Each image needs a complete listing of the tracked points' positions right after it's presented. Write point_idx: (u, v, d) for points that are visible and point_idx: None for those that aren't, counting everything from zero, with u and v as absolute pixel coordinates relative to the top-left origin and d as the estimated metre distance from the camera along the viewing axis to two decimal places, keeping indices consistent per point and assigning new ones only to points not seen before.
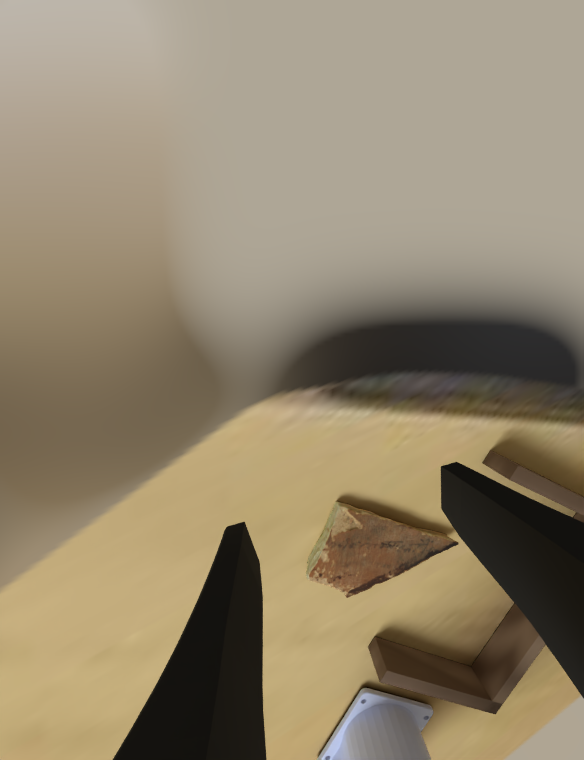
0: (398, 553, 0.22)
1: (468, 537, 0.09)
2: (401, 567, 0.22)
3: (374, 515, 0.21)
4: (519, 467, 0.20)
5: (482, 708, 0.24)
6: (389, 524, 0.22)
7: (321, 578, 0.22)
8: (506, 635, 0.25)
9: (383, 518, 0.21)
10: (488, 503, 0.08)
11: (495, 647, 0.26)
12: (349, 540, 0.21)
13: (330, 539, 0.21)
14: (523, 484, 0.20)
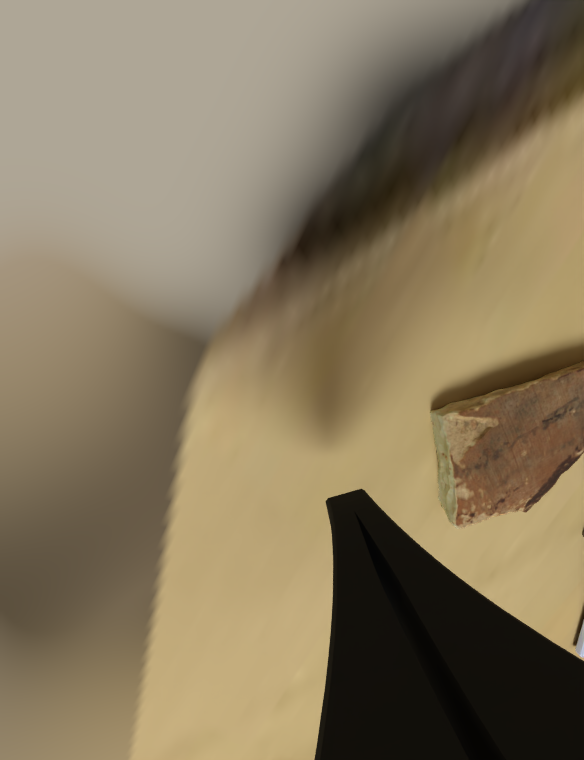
0: (579, 417, 0.12)
1: None
2: None
3: (507, 392, 0.12)
4: None
5: None
6: (541, 388, 0.12)
7: (476, 517, 0.14)
8: None
9: (525, 386, 0.12)
10: (369, 538, 0.08)
11: None
12: (488, 451, 0.12)
13: (457, 468, 0.12)
14: None
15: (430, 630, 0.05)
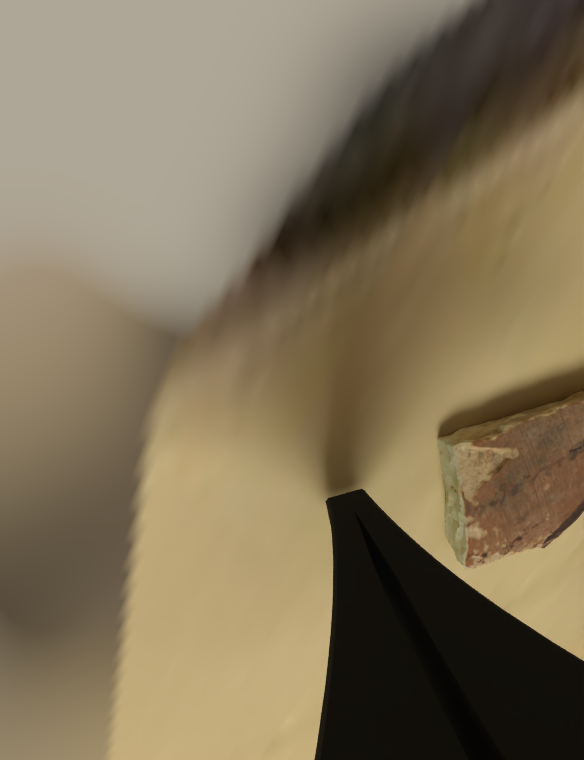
0: None
1: None
2: None
3: (530, 418, 0.10)
4: None
5: None
6: (570, 413, 0.10)
7: (488, 557, 0.12)
8: None
9: (551, 411, 0.10)
10: (369, 537, 0.08)
11: None
12: (506, 486, 0.10)
13: (469, 505, 0.10)
14: None
15: (430, 630, 0.05)
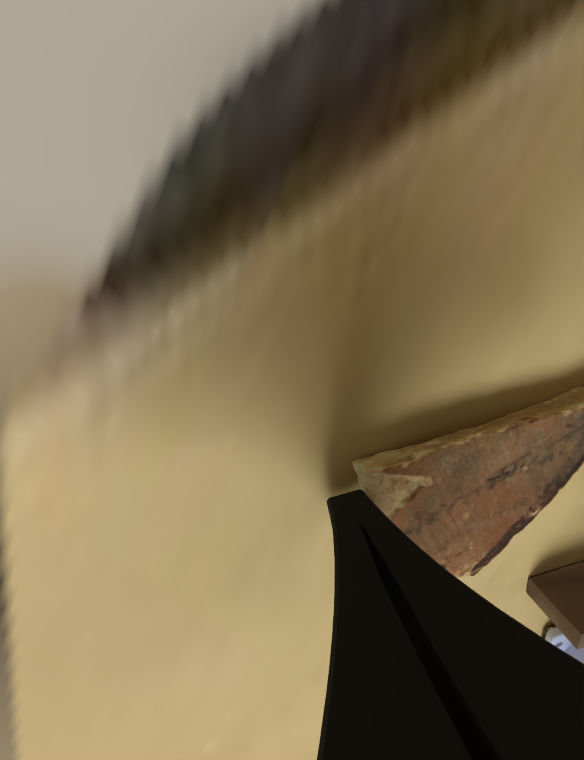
0: (532, 474, 0.10)
1: None
2: (548, 489, 0.11)
3: (443, 446, 0.09)
4: None
5: None
6: (485, 442, 0.10)
7: None
8: None
9: (465, 439, 0.09)
10: (368, 538, 0.08)
11: None
12: (421, 514, 0.10)
13: None
14: None
15: (428, 630, 0.05)
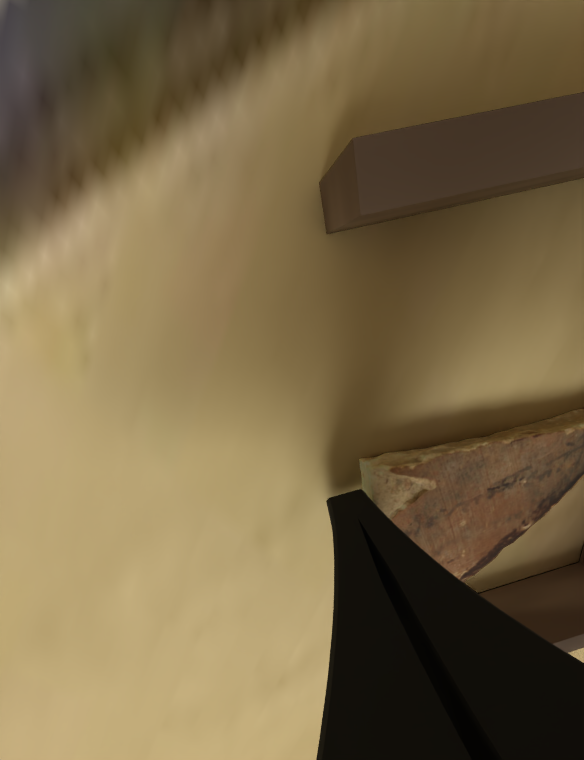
0: (530, 488, 0.11)
1: None
2: (542, 505, 0.11)
3: (450, 451, 0.10)
4: (362, 143, 0.05)
5: None
6: (490, 452, 0.10)
7: None
8: None
9: (472, 447, 0.10)
10: (368, 538, 0.08)
11: None
12: (421, 517, 0.10)
13: None
14: (422, 194, 0.05)
15: (428, 630, 0.05)
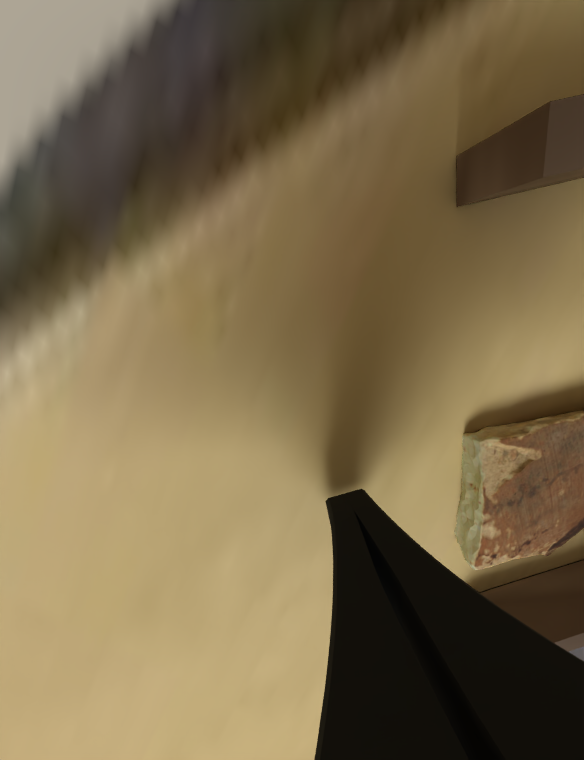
0: None
1: None
2: None
3: (556, 421, 0.10)
4: (557, 106, 0.05)
5: None
6: None
7: (497, 558, 0.12)
8: None
9: (576, 417, 0.10)
10: (369, 537, 0.08)
11: None
12: (525, 486, 0.11)
13: (489, 503, 0.11)
14: None
15: (430, 630, 0.05)
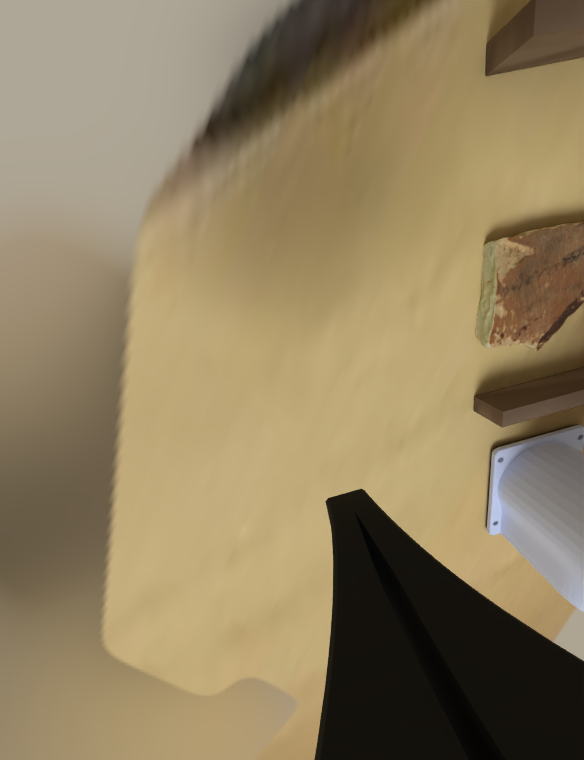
0: None
1: None
2: None
3: (542, 228, 0.16)
4: None
5: None
6: (566, 230, 0.16)
7: (504, 339, 0.18)
8: None
9: (555, 226, 0.16)
10: (369, 538, 0.08)
11: None
12: (523, 275, 0.17)
13: (500, 286, 0.17)
14: (561, 26, 0.12)
15: (430, 630, 0.05)
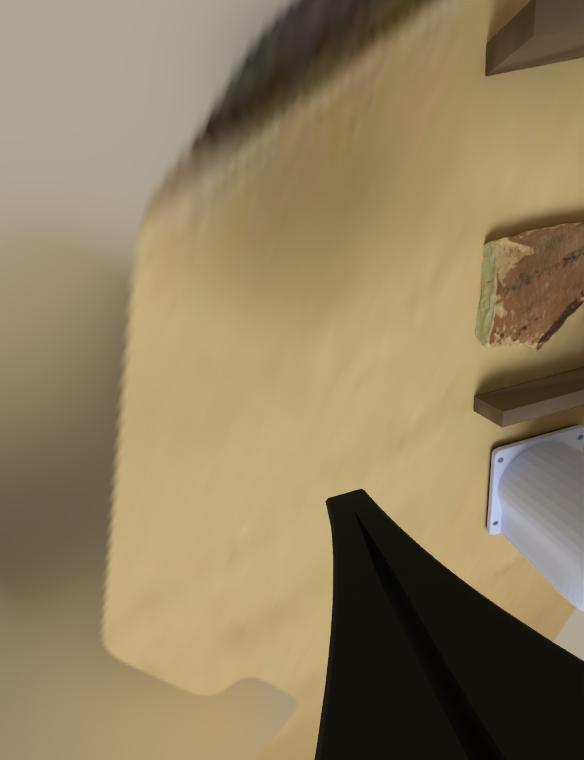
0: None
1: None
2: None
3: (543, 228, 0.16)
4: None
5: None
6: (566, 230, 0.16)
7: (504, 339, 0.18)
8: None
9: (555, 226, 0.16)
10: (370, 538, 0.08)
11: None
12: (523, 275, 0.17)
13: (500, 286, 0.17)
14: (561, 26, 0.12)
15: (430, 630, 0.05)
